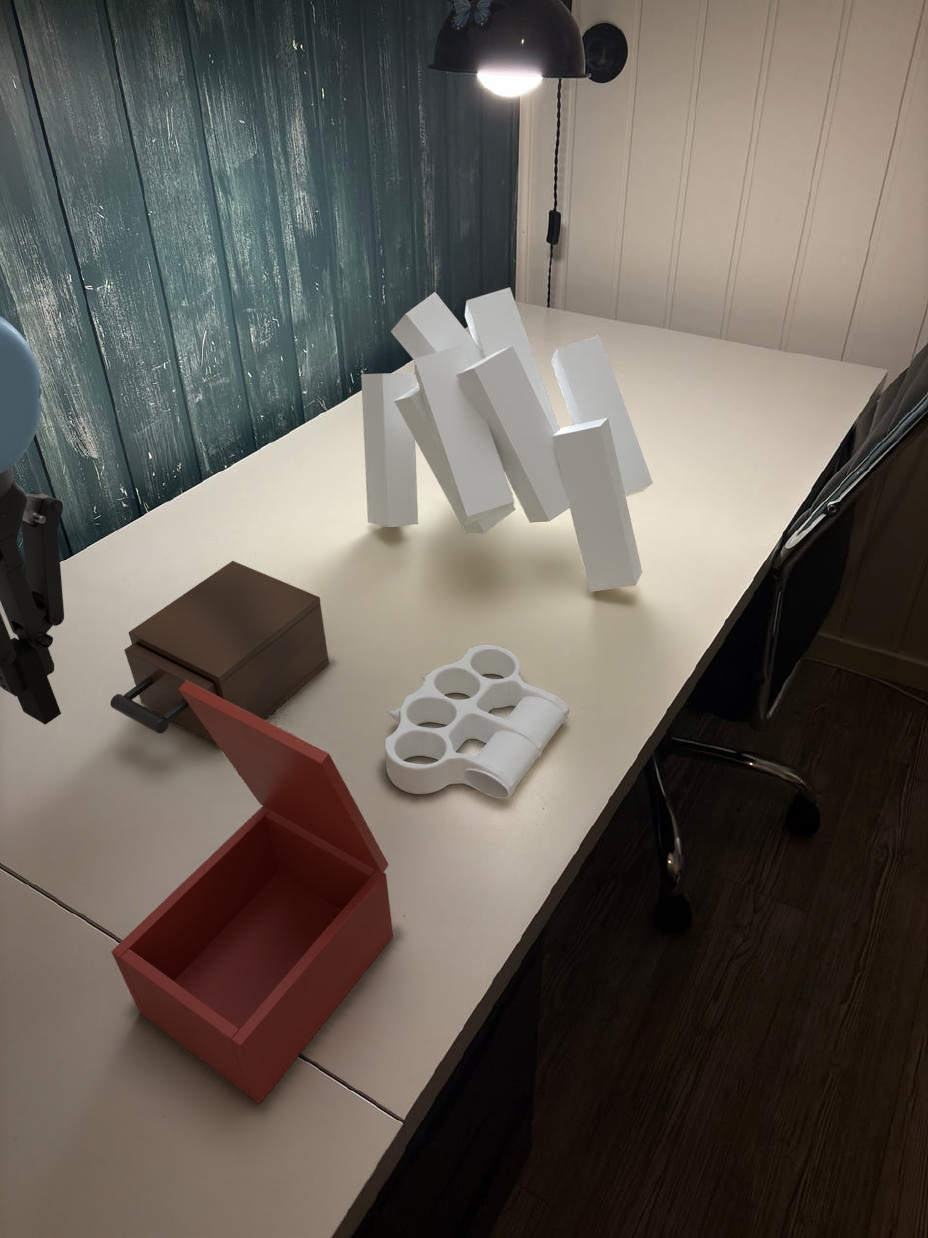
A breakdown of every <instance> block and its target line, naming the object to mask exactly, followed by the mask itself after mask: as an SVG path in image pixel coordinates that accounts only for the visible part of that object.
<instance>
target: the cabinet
mask: <svg viewBox="0 0 928 1238" xmlns="http://www.w3.org/2000/svg"><path fill="white" fill-rule="evenodd" d="M321 604H322V603H321V597H320V596H318V595H316V594H314V593H311V592H309V591H306V590H304V589H302V588H300V587H297V586H295V585H292V584H289V583H287V582H285V581H282V580H281V579H278V578H275V577H273V576H271V575H268V574H266V573H263V572H261V571H258V570H256V569H254V568H252V567H249V566H246V565H245V564H242V563H240V562H237V561H235V560H231V561H230V562H229V563H226V564H225V565H224V566H223V567H221V568H220V569H219V570H216V571H215V572H214V573H213V574H210V575H209V576H208V577H206V578H205V579H204V580H202V581H201V582H199V583H197V584H196V585H195V586H193V587H192V588H190V589H189V590H188V591H186V592H185V593H183V594H182V595H180V596H179V597H178V598H176V599H174V600H173V601H171V602H170V603H169V604H167V605H166V606H164V607H163V608H161V609H160V610H159V611H157V612H155V613H154V614H153V615H151V616H150V617H149V618H147V619H146V620H143V622H141V623H139V624H138V625H137V626H136V627H134V628H132V629H131V630H130V631H128V636H129V639H130V642H131V645H132V644H133V643H135V644H137V645H139V646H141V647H143V648H145V649H147V650H149V651H151V652H153V653H155V652H154V651H156V652H158V653H160V654H162V655H164V656H166V657H168V658H170V659H172V660H174V661H176V662H178V663H180V664H182V665H184V666H186V667H188V668H189V669H191V670H193V671H195V672H197V673H199V674H201V675H203V676H205V677H207V678H209V679H211V680H213V681H214V683H215V687H216V691H217V695H218V697H220V698H222V699H224V700H226V701H228V702H230V703H232V704H234V705H236V706H238V707H240V708H242V709H244V710H246V711H248V712H250V713H252V714H253V715H255V716H257V717H259V718H261V719H263V720H265V721H266V720H267V719H269V717H270V716H271V715H273V714H274V713H275V712H276V711H277V710H278V709H280V708H281V707H282V706H283V705H284V704H285V703H286V702H288V700H290V699H291V698H292V697H293V696H294V695H296V693H298V692H299V691H300V690H301V689H302V688H304V687H305V686H306V685H307V684H308V683H309V682H310V681H311V680H312V679H314V678H315V677H316V676H317V675H319V673H321V671H323V670H324V669H325V668H326V667H327V666H328V665H330V661H329V653H328V646H327V639H326V631H325V626H324V618H323V612H322V611H323V610H322V605H321Z"/></svg>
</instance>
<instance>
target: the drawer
mask: <svg viewBox="0 0 928 1238" xmlns="http://www.w3.org/2000/svg"><path fill="white" fill-rule="evenodd" d="M123 651H124V654H125V656H126V660H127V663H128V666H129V669H130V672H131V675H132V679H133V681H134V685H135V686H134V687H132V688H131V689H130V690H128V691H127V692H126V693H124V694H121V693H117V694H114V696H112V698H111V700H110V703H109V704H110V707H111V708H112V709H114V710H115V711H117V712H119V713H121V714H122V715H124V716H126V717H128V718H130V719H131V720H133V721H135V722H137V723H139V724H140V725H142V726H144V727H145V728H148V729H149V730H151V731H152V732H154V733H157V734H163V733H165V732H166V731H167V730H168V728H169V726H170V722H171V721H174V722H175V723H177V724H179V725H181V726H183V727H185V728H187V729H189V730H190V731H192V732H194V733H196V734H198V735H200V736H201V737H203V738H205V739H207V740H208V741H210V742H212V743H214V744H216V745H218V744H217V743H216V741H215V740H214V739H213V737H212V736H211V734H210V733H209V732H208V730H207V729H206V727H205V726H204V725H203V723H202V722H201V720H200V719H199V718H198V716H197V715H196V713H195V712H194V711H193V709H192V708H191V706H190V705H189V704H188V702H187V701H186V699H185V698H184V697H183V695H182V694H181V692H180V691H179V688H180V687H181V686H182V684H183V683H184V682H185V681H186V680H187V681H189V682H191V683H193V684H195V685H197V686H199V687H201V688H203V689H205V690H207V691H209V692H211V693H212V694H214V695H216V696H218V695H217V691H216V687H215V683H214V681H213V680H211V679H209V678H207V677H205V676H203V675H201V674H199V673H197V672H195V671H193V670H191V669H189V668H188V667H186V666H184V665H182V664H180V663H178V662H176V661H174V660H172V659H170V658H168V657H166V656H164V655H162V654H160V653H158V652H156V651H154V652H155V653H153V652H151V651H149V650H147V649H145V648H143V647H141V646H139V645H137V644H135V643H133V644H132V643H131V644H130V645H128V646H127V647H126V648H125V649H123ZM138 696H139V700H140V702H141V704H143V705H144V706H143V705H141V704H139V703H138V702H136V701H134V699H136V698H137V697H138ZM147 707H148V708H147ZM149 708H150V709H152V710H150V709H149ZM154 711H156V712H154ZM158 713H159V714H158ZM160 714H161V715H160Z"/></svg>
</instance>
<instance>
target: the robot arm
mask: <svg viewBox="0 0 928 1238" xmlns="http://www.w3.org/2000/svg"><path fill="white" fill-rule="evenodd" d="M41 381H42V379H41V373H40V369H39V366H38V362H37V360H36V357H35V356H34V353H33V351H32V349H31V347H30V345H29V344H28V342H27V341H26V339H25V338H24V337H23V335H22V334H21V332H20V331H18V330H17V329H16V328H15V326H13V325H12V323H10V322H9V321H8V320H7V319H5V318H4V317H3V316H1V315H0V604H1V606H2V609H3V611H4V614H5V617H6V619H7V622H8V624H9V627H10V629H11V632H12V633H13V634H14V635H16V636H17V638H16V637H13V638H11V636H10V633H9V631H8V628H7V626H6V623H5V621H4V618H3V616H2V613H1V612H0V688H2V689H3V690H4V691H6V692H8V693H9V694H11V695H12V696H14V697H17V700H18V703H19V705H20V708H21V709H22V712H23V713H24V714H26V715H28V716H29V717H31V718H33V719H35V720H36V721H38V722H39V723H41V724H43V725H45V726H46V725H47V724H49V723H51V721H53V720H55V719H56V718H57V717H59V716H60V715H62V712H61V709H60V706H59V704H58V702H57V698H56V696H55V693H54V690H53V688H52V685H51V682H50V680H49V677H48V676H50V675H51V674H52V673H54V672H55V663H54V660H53V656H52V655H51V652H50V649H49V648H50V647H51V646H52V645H53V642H54V636H52V635H50V634H48V632H49V631H50V630H51V628H52V627H53V626H54V627H57V626H60V625H61V624H62V623H63V622H64V620H65V608H64V596H63V583H62V572H61V571H62V569H61V558H60V557H61V555H60V545H59V532H58V531H59V527H60V522H61V518H62V515H63V512H64V504H63V502H62V501H61V500H60V499H57V498H55V497H53V496H51V495H48V494H45V493H44V492H40V491H38V490H33V491H30V492H29V493H28V492H26V491H25V489H24V488H23V487H22V486H21V485H19V484H18V482H16V481H15V474H14V473H15V472H14V469H13V467H12V466H13V465H14V464H16V463H17V462H18V461H19V460H20V459H21V458H22V457H23V456H24V454H25V453H26V452H27V451H28V449H29V447H30V445H31V444H32V442H33V440H34V439H35V435H36V433H37V431H38V428H39V423H40V421H41V415H42V410H43V409H42V408H43V405H42V400H41V397H42V388H41ZM20 529H21V535H22V543H23V556H24V560H23V556H22V554H21V551H20V549H19V546H18V543H17V540H18V537H19V533H20ZM24 564H25V572H24V569H23V566H22V565H24Z"/></svg>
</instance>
